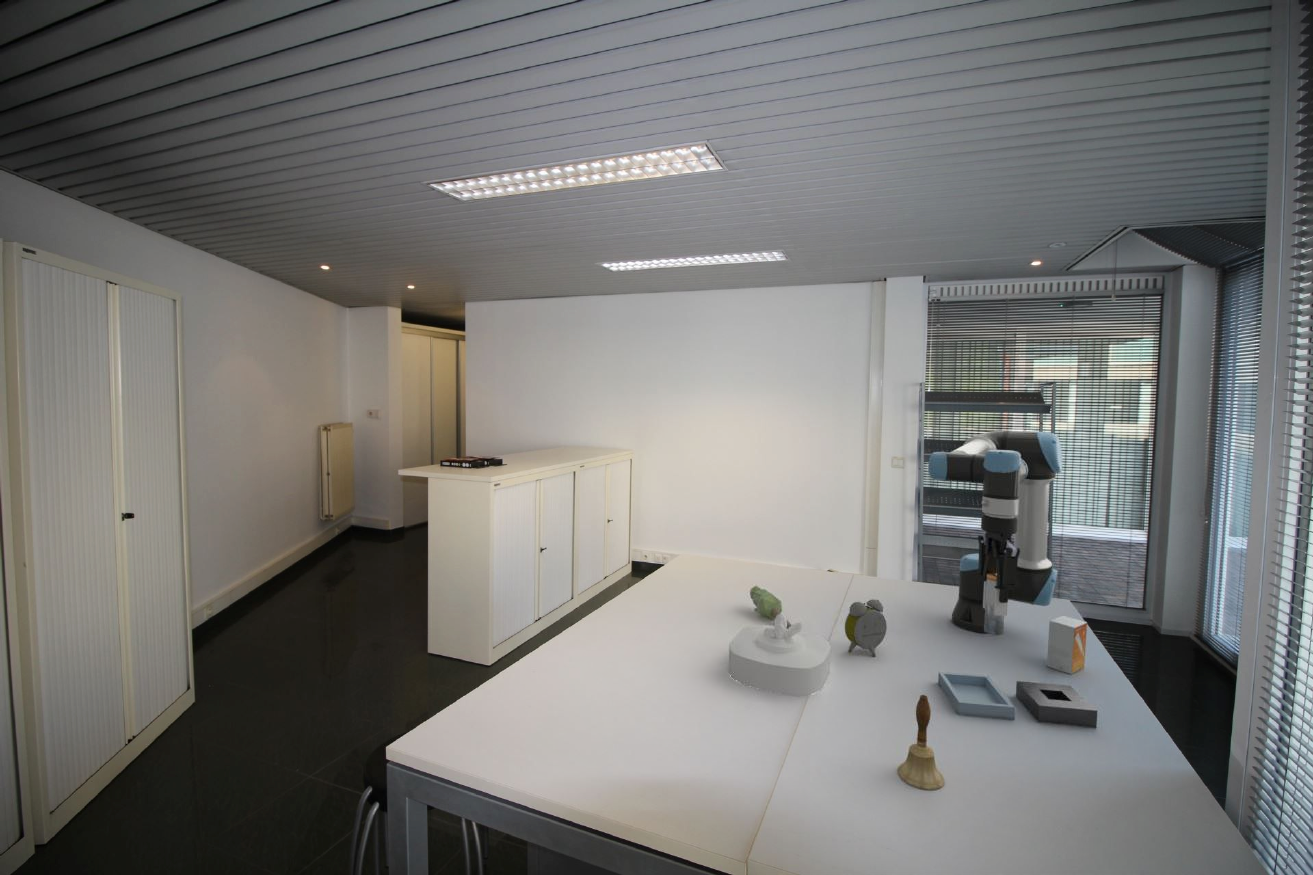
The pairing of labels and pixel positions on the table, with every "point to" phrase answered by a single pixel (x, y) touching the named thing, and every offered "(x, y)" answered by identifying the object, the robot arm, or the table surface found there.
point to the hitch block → (1056, 704)
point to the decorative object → (766, 603)
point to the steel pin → (992, 608)
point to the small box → (1066, 644)
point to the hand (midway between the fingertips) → (994, 611)
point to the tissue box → (780, 658)
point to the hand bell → (921, 755)
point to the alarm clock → (865, 625)
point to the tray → (976, 696)
